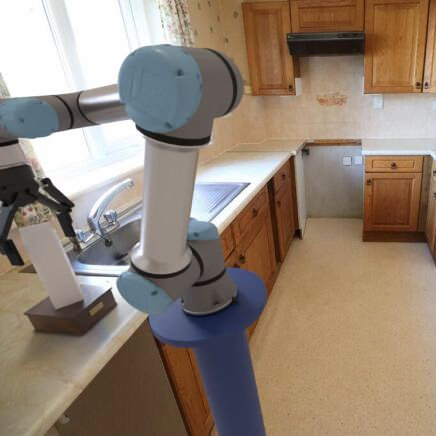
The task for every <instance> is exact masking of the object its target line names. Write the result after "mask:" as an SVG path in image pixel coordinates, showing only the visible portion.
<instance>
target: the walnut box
mask: <svg viewBox="0 0 436 436" xmlns="http://www.w3.org/2000/svg"><path fill="white" fill-rule="evenodd" d="M80 286H81V288H82V292H83V299H84V300H82V301H79V302H76V303H73V304H71V305H68V306H65V307H62V308H59V309H57V310H56V309H55V307H54V305H53V303H52V301H51V299H50V297H49V295H48V296H46V297H45V298H44V299H42V300H40V301H39V302H37V303H36V304H35V305H34V306H32V307H30V308H29V309H28V310H26V311H24V312H23V315H24V316H26V317H27V318H28V320H29V322H30V324H31V325H32V327H33V328H34V331H36V332H44V333H45V332H46V333H53V334H62V335H64V334H65V335H73V336H81V337H82V336H83V335H84V334H85V333H86V332H87V331H89V329H92V327H93V326H94V325H96V324H97V322H99V321H100V320H102V318H103V317H104V316H106V315H107V314H108V313H109V312H110V311H111V310H112V309H113V308H115V307H116V306H117V305H118V304H117V301H116V299H115V296H114V293H113V290H112V289H113V287H112V286H107V285H95V284H94V285H93V284H81V283H80Z"/></svg>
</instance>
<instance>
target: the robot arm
mask: <svg viewBox="0 0 436 436" xmlns="http://www.w3.org/2000/svg"><path fill="white" fill-rule="evenodd" d="M244 89H245V84H244V78H243V74H242V72H241V70H240V68H239V67H238V65H237V64H236V63H235V62H234V60H233V59H232V58H231V57H230V56H228V55H227V54H225V53H223V51H219V50H217V49H214V48H209V47H193V46H192V47H191V46H183V45H173V44H170V43H161V44H160V43H159V44H154V45H153V44H152V45H144V46H141V47H138V48H136V49H134V50H133V51H132V52H130V53H129V54H128V55H126V57H125V58H124V60H123V61H122V63H121V65H120V67H119V69H118V74H117V82H116V83H113V84H108V85H103V86H99V87H94V88H89V89H85V90H80V91H75V92H69V93H59V94H46V95H33V96H31V95H30V96H20V97H18V96H15V97H6V98H1V97H0V202H1V203H0V255H2V256H6V257H7V259H8V261H9V264H10V265H11V266H13V267H23V266H25V265H26V263H25V261H24V259H23V258H22V256H21V254H20V252H19V250H18V249H17V246H16V244H15V243H14V240H13V239H12V238H8V237H9V234H10V232H11V228H12V224H13V222H14V219H15V216H16V213H18V212H19V210H20V208H24V207H27V206H28V205H31V204H35V203H38V204H41V205H43V206H45V207H47V208H49V209H51V210H53V211H55V212H57V213H56V214H55V217H56V219H57V221H58V223H59V226H60V229H61V230H62V233H63V235H64V237H65V238H76V237H77V233H76V231H75V228H74V226H73V223H74V220H73V218H72V215H71V213H72V212H73V208H75V207H76V205H75V203H74V202H73V201H72V200H71V199H70V198H69V197H67V196H66V195H65V194H64V193H63V192H62V191H61V190H60V189H58V187H56V186H55V185H54V183H53V181H52V179H51V178H50V177H37V178H36V175H35V172H34V171H33V168H32V166H31V164H30V163H28V162H27V161H28V157H27V154H26V152H25V150H24V148H23V146H22V144H21V142H20V139H27V140H28V139H29V140H35V139H38V138H46V137H50V136H52V135H53V134H55V133H62V132H65V131H66V132H67V131H71V130H76V129H82V128H89V127H95V126H101V125H107V124H110V123H118V122H123V121H129V120H130V121H132V122H133V123H134V128H135V130H136V132H137V133H138V134H139V135H140V136H141V137H142V138H143V139H144V156H143V157H144V158H143V176H142V195H141V196H142V197H141V211H140V212H141V214H140V215H141V216H140V234H139V242H137V243H136V244H135V245H134V246H133V247H132V249H131V251H130V257H129V258H130V259H129V260H130V261H129V267H128V269H127V270H124V271H121V273H120V275H118V277H117V278H116V282H115V286H116V289H117V292H118V293H119V294H120V296H121V298H122V299H123V300H124V301H125V302H126V303H127V304H129V305H130V306H131V307H132V308H134V309H135V310H137V311H139V312H141V313H143V314H146V315H149V314H150V315H156V314H161V313H163V312H164V311H165V310H166V309H168V308H169V307H171V306H172V305H173V303H174V302H176V301H177V300H178V299H179V298H180V306H181V309H182V311H183V312H184V313H185V314H186V315H188V316H191V317H208V316H212V315H216V314H218V313H220V312H222V311H224V310H226V309H227V308H229V307H230V306H231V305H232V304H233V303H234V302H236V303H238V302H239V300H238V299H237V296H238V291H237V286H236V284H235V282H234V281H233V280H232V278H231V277H230V275H229V273H228V272H227V270H226V268H227V267H226V262H225V256H224V251H223V246H222V241H221V235H220V233H219V229H218V226H216V224H215V223H213V222H210V221H205V220H191V213H192V206H193V199H194V192H195V185H196V178H197V172H198V165H199V157H200V152H201V151H200V150H201V149H202V148H204V147H206V146H208V145H209V144H210V142H211V139H212V134H213V127H214V122H215V119H219V118H222V117H225V116H228V115H229V114H231V113H232V112H233V111H235V110H236V109H237V108H238V107H239V105H240V103H241V101H242V98H243V96H244V91H245V90H244ZM35 178H36V179H35ZM40 188H41V189H42V190H43V191H44V192H45V193H46V194H48V195H49V196H50V197H51V198H50V197H48V196H47V195H46V194H44V193H41V192H40Z"/></svg>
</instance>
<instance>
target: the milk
mask: <svg viewBox="0 0 436 436" xmlns="http://www.w3.org/2000/svg"><path fill="white" fill-rule="evenodd" d="M18 233H19V234H20V239H21V242H22V247H23V248H24V250H25V253H26V254H27V256H28V259H29V260H30V262H31V264H32V266H33V268H34V269H35V272H36V274H37V276H38V278H39V280H40V281H41V284H42V285H43V288H44V290H45V291H46V293H47V295H48V296H49V297H50V299H51V301H52V303H53V305H54V307H55V309H56V310H57V309H59V308H62V307H65V306H68V305H71V304H73V303H76V302H79V301H82V300H84V299H83V292H82V288H81V286H80V284H81V283H80V281H79V279H78V276H77V275H76V272H75V270H74V268H73V266H72V264H71V261H70V258H69V257H68V254H67V252H66V250H65V248H64V246H63V243H62V241H61V239H60V237H59V235H58V231H57V230H56V229H55V227H54V226H53V224H52V222H51V221H45V222H41V223H36V224H32V225H28V226H24V227H20V228H18Z"/></svg>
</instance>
